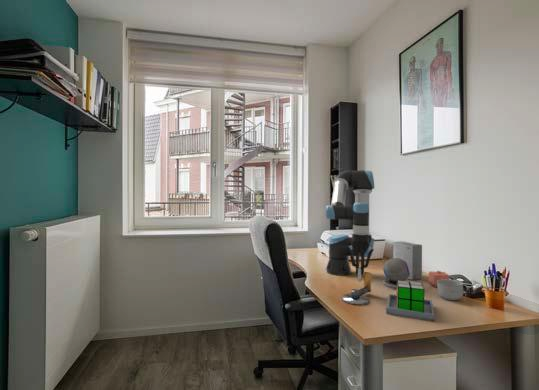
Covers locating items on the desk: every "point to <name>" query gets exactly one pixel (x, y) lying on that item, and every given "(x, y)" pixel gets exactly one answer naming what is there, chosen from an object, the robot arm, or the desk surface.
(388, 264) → the webcam
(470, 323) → the desk surface
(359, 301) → the crank base
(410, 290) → the puzzle cube
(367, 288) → the crank lever
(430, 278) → the pink cube teapot
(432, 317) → the tray
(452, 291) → the teacup
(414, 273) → the hard drive box
